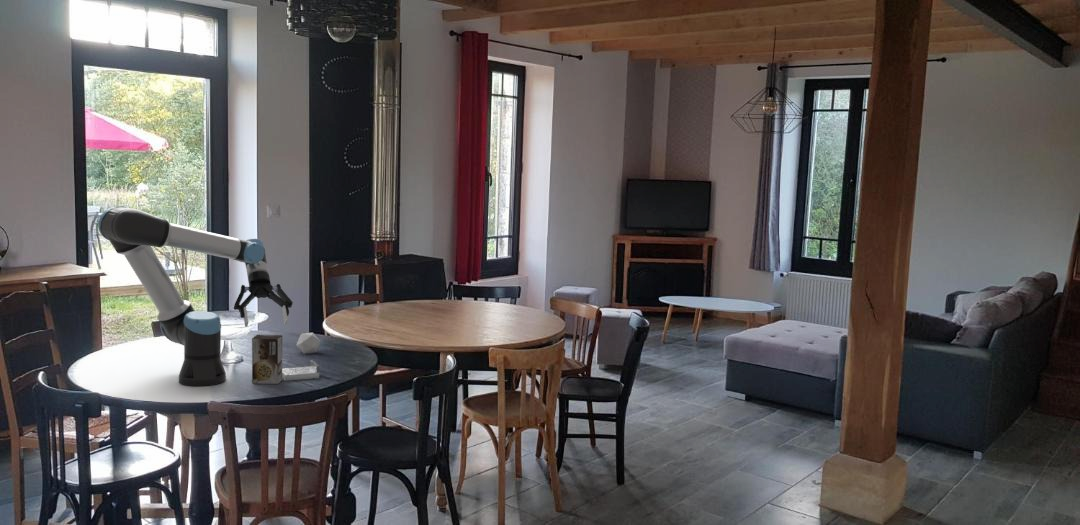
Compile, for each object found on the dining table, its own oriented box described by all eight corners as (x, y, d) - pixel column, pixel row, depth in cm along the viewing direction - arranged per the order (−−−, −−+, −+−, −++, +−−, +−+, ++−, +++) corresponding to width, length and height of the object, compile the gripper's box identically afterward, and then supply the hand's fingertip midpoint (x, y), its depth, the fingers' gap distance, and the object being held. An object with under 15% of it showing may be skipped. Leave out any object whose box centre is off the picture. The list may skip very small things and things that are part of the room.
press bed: (284, 380, 296) (285, 368, 296) (278, 374, 305) (279, 362, 304) (319, 378, 302) (319, 366, 301) (312, 371, 311) (312, 359, 310)
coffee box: (282, 379, 298) (283, 334, 296) (277, 384, 291) (278, 338, 289) (256, 378, 297) (257, 333, 295) (251, 383, 291) (251, 337, 289)
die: (314, 350, 347) (300, 332, 345) (327, 343, 342) (313, 324, 340) (303, 361, 340) (288, 342, 338) (317, 354, 335) (302, 335, 333)
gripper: (223, 270, 301) (231, 319, 290) (294, 268, 314) (304, 315, 303) (221, 282, 307) (228, 331, 295) (290, 281, 319) (300, 327, 308)
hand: (266, 323), depth 299 cm, fingers open, 13 cm apart
